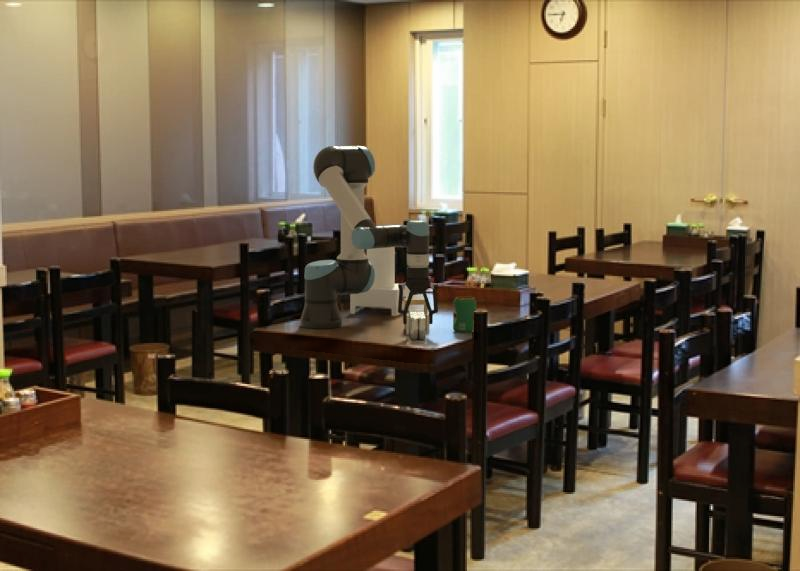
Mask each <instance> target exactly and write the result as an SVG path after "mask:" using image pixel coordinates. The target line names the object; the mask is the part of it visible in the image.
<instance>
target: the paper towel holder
mask: <svg viewBox="0 0 800 571" xmlns="http://www.w3.org/2000/svg"><path fill="white" fill-rule="evenodd" d="M395 248H396V247H390V248H375V249H366V256H367V257H368V261H369V262H370V263H372V265H373V268H374V270H375V279H374V283H373V285H372V287H371V288H370V289H369V290H368V291H367V292H364V293H359V294H349V296H350V297H349V299H350V302H349V305H350V307H349V308H350V310H349V311H350V315H355V314H356V312H357V307H360V310H362V309H364V308H390V309H391V316H392V317H397V316H399V315H402V314H401V313H398V302H399V288H398V284H399V283H395V282H396V280H395V276H396V275H395V274H396V273H395V272H396V268H395V264H396V260H395V259H396V255H395V253H396V252H395V251H396V250H395ZM409 292H410V290H409V289H408V288H407V286H405V289H404V290H403V299H402V302H404V299H408V296H409ZM411 306H412V305H410V306H409V309H408V311H409V310H411V309H412V308H411Z"/></svg>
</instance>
